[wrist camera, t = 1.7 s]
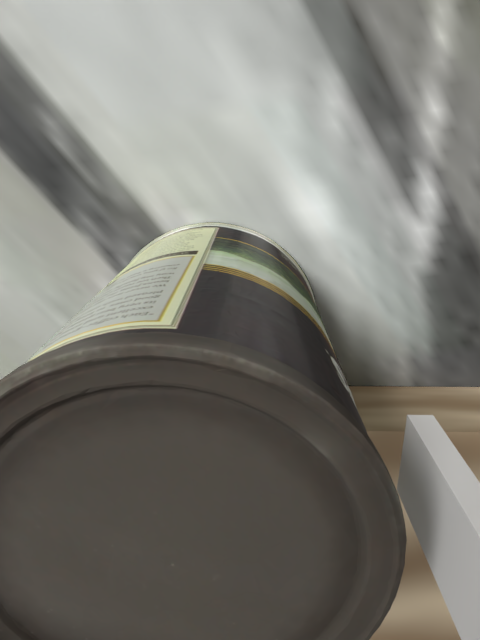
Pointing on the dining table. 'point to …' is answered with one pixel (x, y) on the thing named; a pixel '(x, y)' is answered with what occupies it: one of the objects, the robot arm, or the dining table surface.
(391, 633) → the oak riser
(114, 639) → the coffee can
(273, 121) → the dining table surface
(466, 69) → the dining table surface
